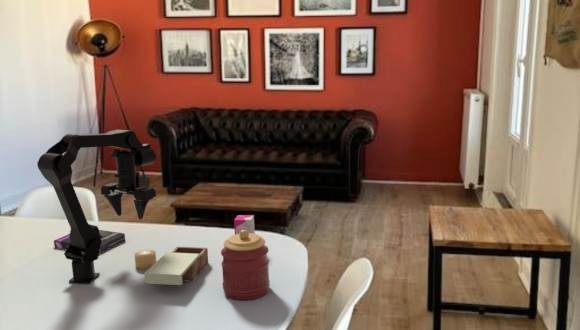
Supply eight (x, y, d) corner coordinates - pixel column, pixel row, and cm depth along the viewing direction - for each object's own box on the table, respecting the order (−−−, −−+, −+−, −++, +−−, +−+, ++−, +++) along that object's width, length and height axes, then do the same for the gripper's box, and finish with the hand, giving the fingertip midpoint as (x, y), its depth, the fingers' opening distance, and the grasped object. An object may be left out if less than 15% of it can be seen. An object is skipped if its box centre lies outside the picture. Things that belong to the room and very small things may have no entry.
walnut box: (193, 281, 159) (191, 265, 158) (160, 279, 160) (159, 263, 159) (208, 262, 172) (207, 247, 171) (178, 261, 174) (176, 246, 173)
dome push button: (151, 270, 168) (150, 257, 167) (131, 268, 169) (130, 256, 168) (159, 262, 174) (158, 249, 173) (140, 261, 175) (139, 248, 174)
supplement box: (255, 247, 185) (254, 214, 182) (252, 253, 179) (251, 220, 176) (238, 246, 185) (237, 214, 183) (235, 253, 179) (233, 220, 177)
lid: (181, 285, 149) (180, 274, 148) (145, 283, 151) (144, 273, 150) (200, 263, 164) (199, 253, 163) (167, 261, 166) (166, 252, 165)
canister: (245, 277, 161) (243, 219, 157) (279, 288, 153) (277, 228, 149) (213, 292, 151) (209, 231, 147) (247, 305, 143) (244, 241, 139)
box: (54, 250, 190) (98, 255, 182) (53, 240, 189) (97, 246, 181) (84, 236, 202) (126, 241, 194) (82, 227, 201) (125, 232, 194)
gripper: (166, 167, 175) (169, 214, 178) (123, 162, 184) (127, 207, 187) (141, 174, 165) (145, 223, 168) (97, 168, 174) (101, 216, 177)
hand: (130, 217), depth 175 cm, fingers open, 9 cm apart
